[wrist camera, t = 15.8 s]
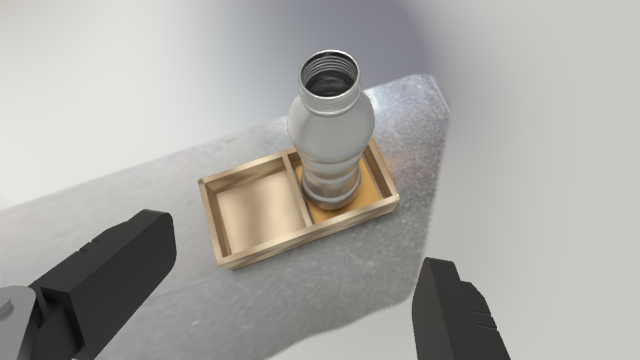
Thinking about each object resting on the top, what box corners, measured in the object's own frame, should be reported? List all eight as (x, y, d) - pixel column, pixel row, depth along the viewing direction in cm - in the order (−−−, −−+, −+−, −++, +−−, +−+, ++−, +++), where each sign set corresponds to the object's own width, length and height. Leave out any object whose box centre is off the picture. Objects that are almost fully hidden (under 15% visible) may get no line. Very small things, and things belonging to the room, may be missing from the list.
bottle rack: (233, 270, 36) (218, 266, 31) (213, 194, 39) (197, 180, 34) (394, 210, 37) (403, 197, 33) (362, 142, 41) (366, 122, 36)
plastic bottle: (292, 181, 38) (251, 65, 19) (339, 152, 39) (344, 14, 20) (322, 226, 36) (310, 144, 17) (371, 193, 37) (409, 82, 18)
